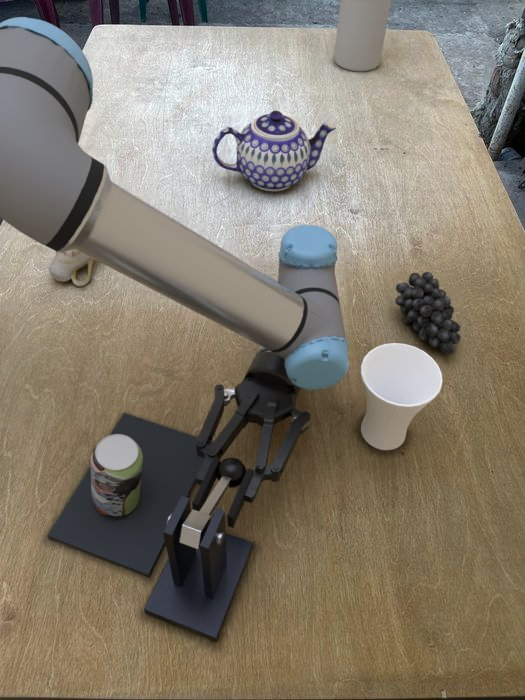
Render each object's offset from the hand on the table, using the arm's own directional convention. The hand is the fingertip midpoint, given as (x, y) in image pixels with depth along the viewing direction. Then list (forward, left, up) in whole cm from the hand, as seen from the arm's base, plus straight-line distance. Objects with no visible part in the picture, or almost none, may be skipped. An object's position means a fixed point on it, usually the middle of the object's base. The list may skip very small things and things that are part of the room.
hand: (213, 515), depth 72 cm
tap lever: (0, 0, +1) cm, 1 cm away
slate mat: (-13, +4, -9) cm, 16 cm away
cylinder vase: (-17, +139, -9) cm, 140 cm away
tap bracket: (0, -4, -9) cm, 10 cm away
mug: (-43, +39, -9) cm, 59 cm away
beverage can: (-14, +1, -8) cm, 16 cm away
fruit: (+18, +47, -9) cm, 51 cm away
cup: (+16, +25, -9) cm, 31 cm away
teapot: (-20, +79, -9) cm, 82 cm away
